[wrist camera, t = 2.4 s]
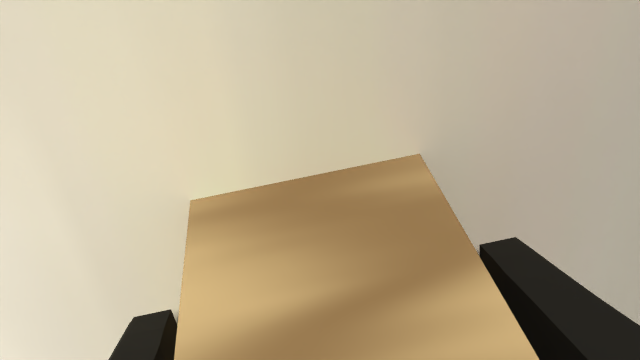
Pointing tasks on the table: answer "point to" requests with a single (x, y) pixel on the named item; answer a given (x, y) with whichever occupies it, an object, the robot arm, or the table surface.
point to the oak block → (340, 274)
